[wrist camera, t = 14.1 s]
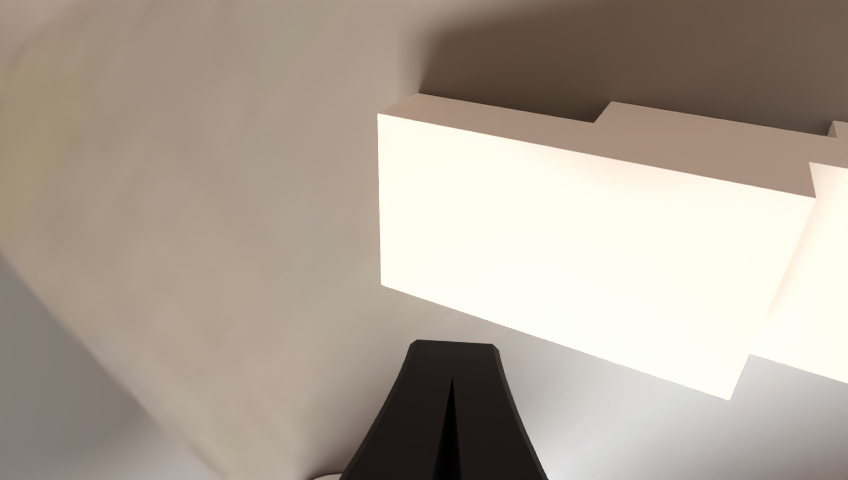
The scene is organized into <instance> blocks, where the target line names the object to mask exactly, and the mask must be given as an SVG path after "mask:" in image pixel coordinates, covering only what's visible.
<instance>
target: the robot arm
mask: <svg viewBox="0 0 848 480" xmlns="http://www.w3.org/2000/svg"><path fill="white" fill-rule="evenodd" d="M339 480H548V478H547V476H546V474H545V472H544V470H543V468H542V465H541V463H540V461H539V459H538V457H537V454H536V452H535V450H534V448H533V446H532V443H531V441H530V439H529V437H528V434H527V432H526V430H525V428H524V425H523V423H522V420H521V418H520V415H519V413H518V410H517V408H516V405H515V402H514V400H513V397H512V394H511V392H510V389H509V386H508V383H507V380H506V377H505V373H504V370H503V366H502V363H501V359H500V354H499V350H498V349H497V348H496V347H495V346H494V345H493V344H483V343H466V342H450V341H433V340H416V341H414V342H413V343H411V344H410V346H409V349H408V352H407V355H406V358H405V360H404V363H403V365H402V368H401V370H400V372H399V375H398V377H397V379H396V381H395V383H394V385H393V387H392V389H391V391H390V393H389V395H388V397H387V399H386V401H385V403H384V405H383V407H382V409H381V410H380V412H379V414H378V416H377V417H376V419H375V421H374V423H373V424H372V426H371V428H370V430H369V431H368V433H367V435H366V437H365V439H364V440H363V442H362V444H361V445H360V447H359V449H358V450H357V452H356V454H355V455H354V457H353V458H352V460H351V461H350V463H349V464H348V466H347V467H346V469H345V471H344V472H343V474H342V475H341V477H340V478H339Z"/></svg>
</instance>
